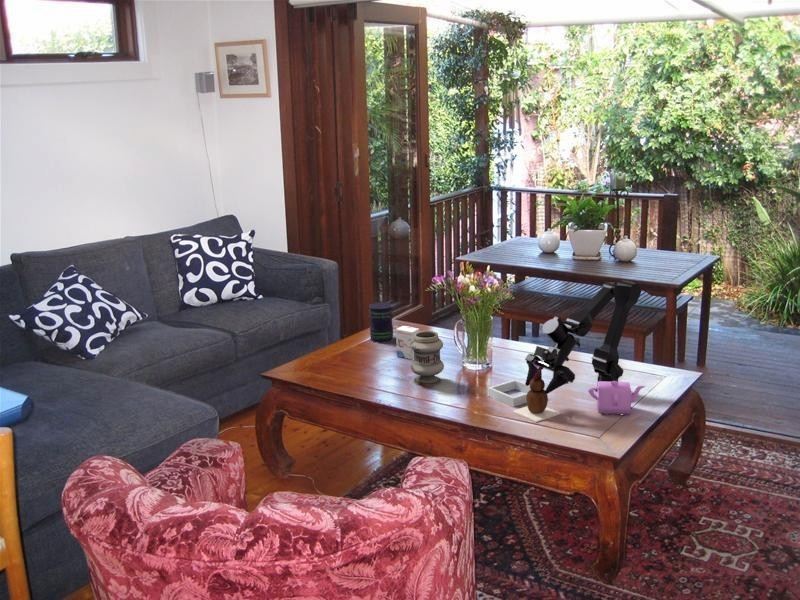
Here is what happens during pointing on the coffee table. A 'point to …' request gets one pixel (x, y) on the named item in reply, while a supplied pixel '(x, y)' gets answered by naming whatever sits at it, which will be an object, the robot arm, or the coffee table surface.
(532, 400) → the wooden figurine
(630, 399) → the teapot
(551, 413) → the tile
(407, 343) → the ink box
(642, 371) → the coffee table surface
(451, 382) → the coffee table surface
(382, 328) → the storage jar
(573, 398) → the coffee table surface
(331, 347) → the coffee table surface
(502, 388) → the white square tray
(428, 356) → the apothecary jar
